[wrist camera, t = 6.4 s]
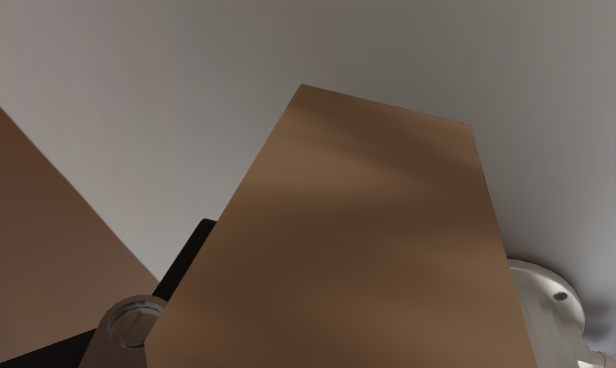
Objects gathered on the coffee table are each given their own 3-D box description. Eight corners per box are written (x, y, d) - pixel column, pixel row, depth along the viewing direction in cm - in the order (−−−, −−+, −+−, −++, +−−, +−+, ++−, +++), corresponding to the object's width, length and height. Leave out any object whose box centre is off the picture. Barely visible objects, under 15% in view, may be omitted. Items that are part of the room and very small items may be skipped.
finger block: (469, 125, 9) (565, 467, 4) (376, 329, 14) (354, 618, 8) (291, 81, 10) (120, 334, 4) (258, 295, 14) (159, 552, 9)
